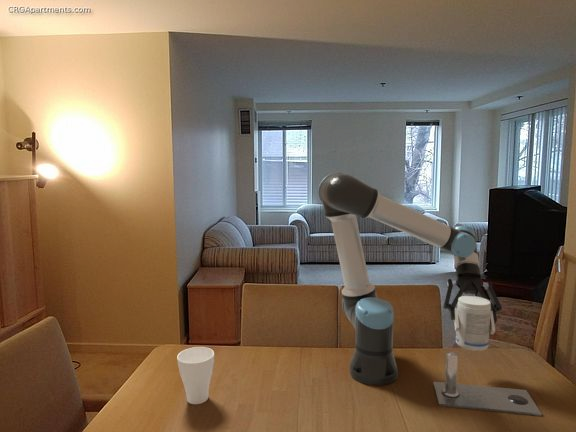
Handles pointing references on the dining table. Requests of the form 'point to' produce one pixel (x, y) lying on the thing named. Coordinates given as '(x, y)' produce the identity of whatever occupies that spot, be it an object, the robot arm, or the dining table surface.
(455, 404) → the grey flat rectangular plate
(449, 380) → the steel pin
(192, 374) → the cup
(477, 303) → the supplement tub
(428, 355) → the dining table surface
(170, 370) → the dining table surface
